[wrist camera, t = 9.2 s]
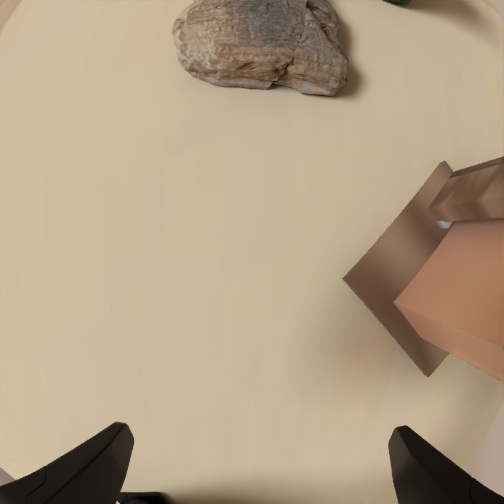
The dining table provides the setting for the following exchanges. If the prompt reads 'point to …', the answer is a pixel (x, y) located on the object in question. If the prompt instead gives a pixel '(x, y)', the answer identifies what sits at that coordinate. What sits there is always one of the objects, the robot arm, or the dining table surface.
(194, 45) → the jagged gray stone
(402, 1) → the coffee jar
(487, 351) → the terracotta slab
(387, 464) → the dining table surface
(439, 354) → the walnut shelf
